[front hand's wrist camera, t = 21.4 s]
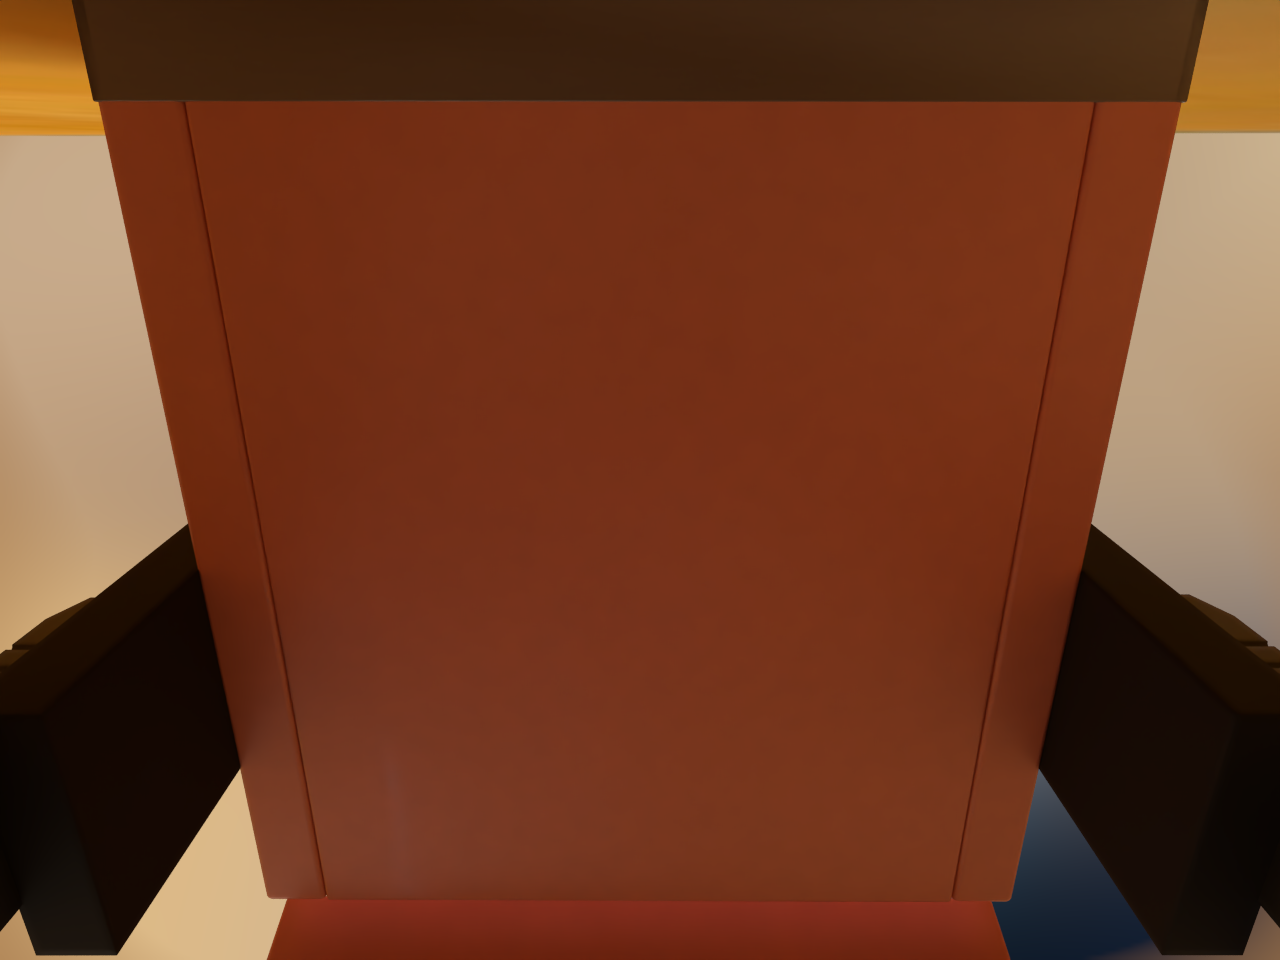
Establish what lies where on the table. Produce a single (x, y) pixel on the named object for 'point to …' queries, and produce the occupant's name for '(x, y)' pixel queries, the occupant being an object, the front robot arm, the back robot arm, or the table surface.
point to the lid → (636, 930)
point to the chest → (639, 418)
